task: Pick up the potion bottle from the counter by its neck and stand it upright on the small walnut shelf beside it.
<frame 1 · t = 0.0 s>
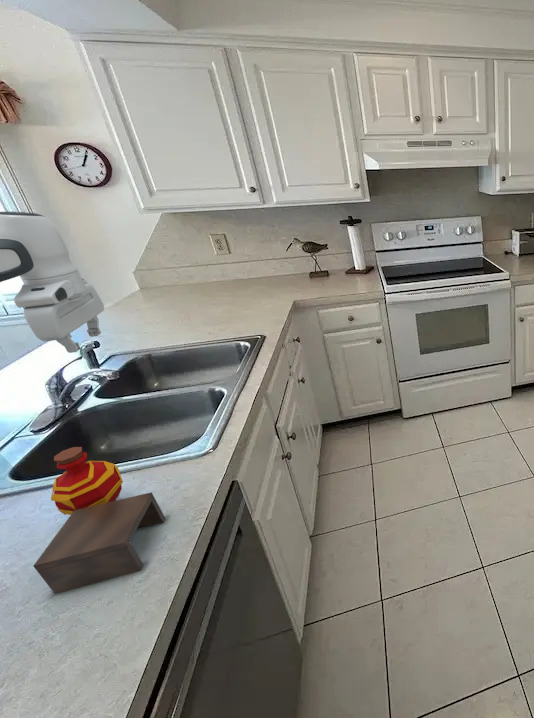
hand: (85, 343, 97), 26 cm above the worktop, tool pointing down, fingers open, 8 cm apart
potion bottle: (103, 511, 84), on the worktop
shelf: (115, 552, 75), on the worktop
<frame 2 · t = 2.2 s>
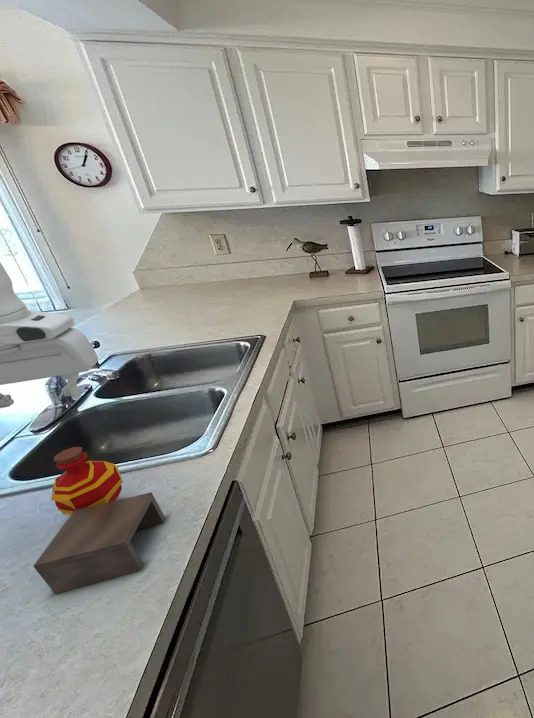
hand: (40, 400, 74), 26 cm above the worktop, tool pointing down, fingers open, 8 cm apart
nothing on the worktop moved.
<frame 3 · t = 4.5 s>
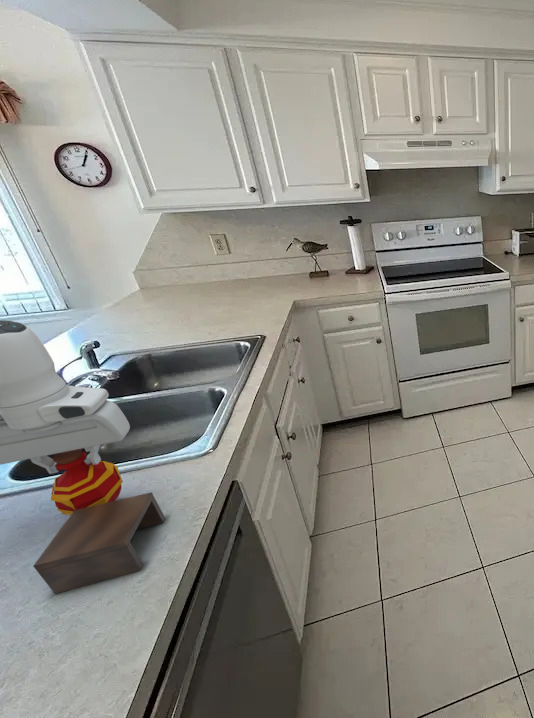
hand: (76, 467, 79), 12 cm above the worktop, tool pointing down, fingers closed on potion bottle, 4 cm apart
potion bottle: (103, 511, 84), on the worktop, touching gripper
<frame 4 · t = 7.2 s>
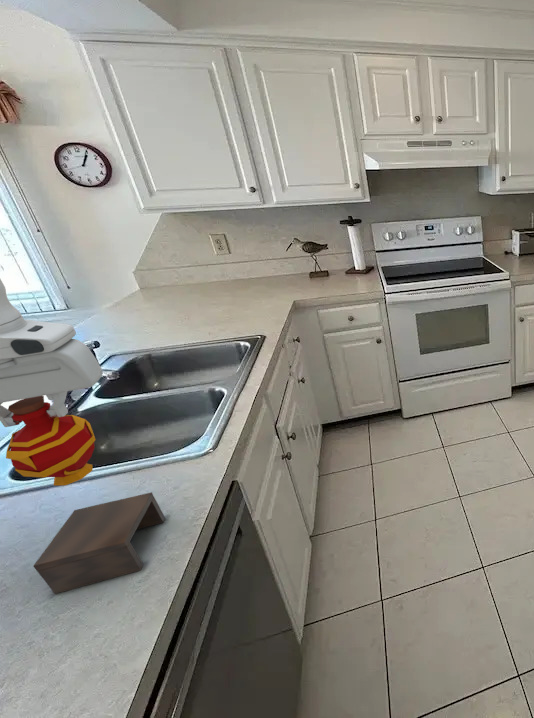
hand: (38, 419, 66), 28 cm above the worktop, tool pointing down, fingers closed on potion bottle, 4 cm apart
potion bottle: (73, 475, 71), point 16 cm above the worktop, touching gripper
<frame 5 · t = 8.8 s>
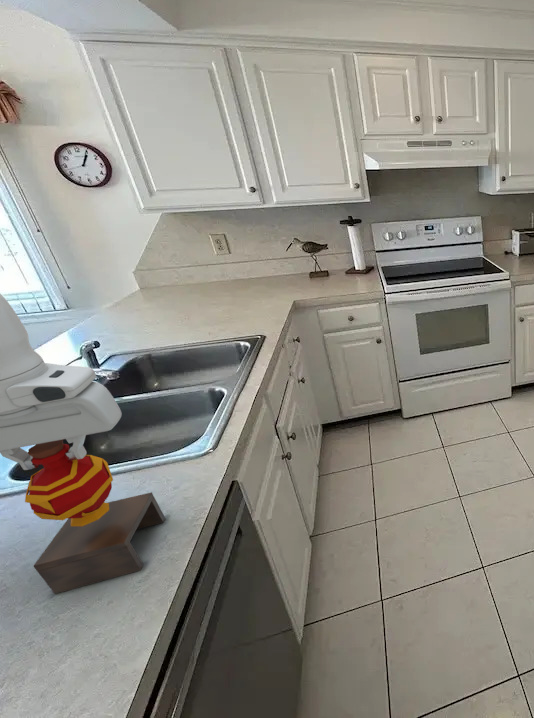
hand: (57, 461, 66), 21 cm above the worktop, tool pointing down, fingers closed on potion bottle, 4 cm apart
potion bottle: (90, 514, 71), point 10 cm above the worktop, touching gripper
when the fingers open (19 cm above the worktop, at t = 10.0 s): potion bottle stays where it is, resting on shelf.
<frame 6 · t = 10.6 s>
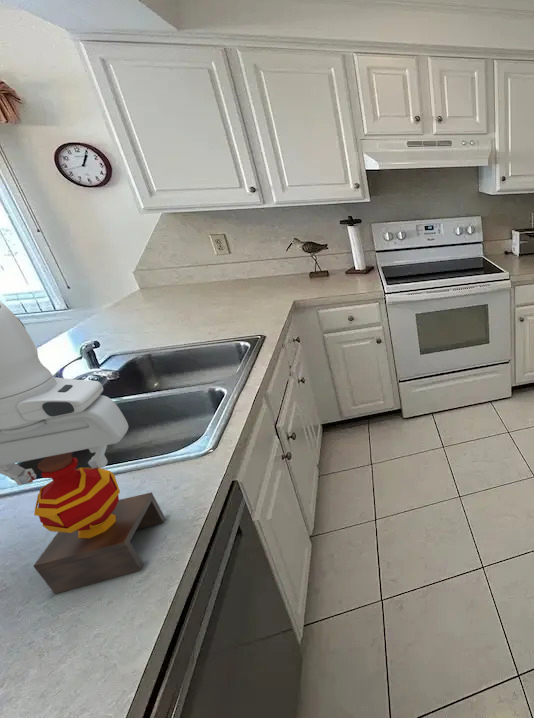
hand: (65, 473, 67), 19 cm above the worktop, tool pointing down, fingers open, 8 cm apart
potion bottle: (97, 526, 72), point 7 cm above the worktop, touching shelf
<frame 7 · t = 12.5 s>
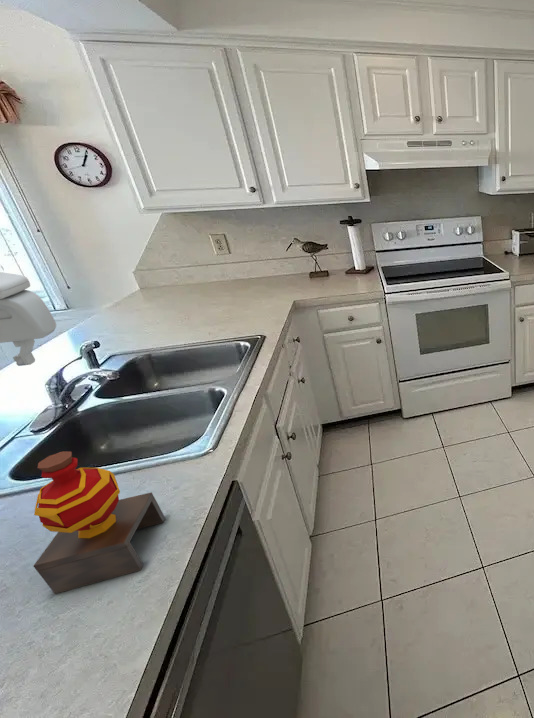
nothing on the worktop moved.
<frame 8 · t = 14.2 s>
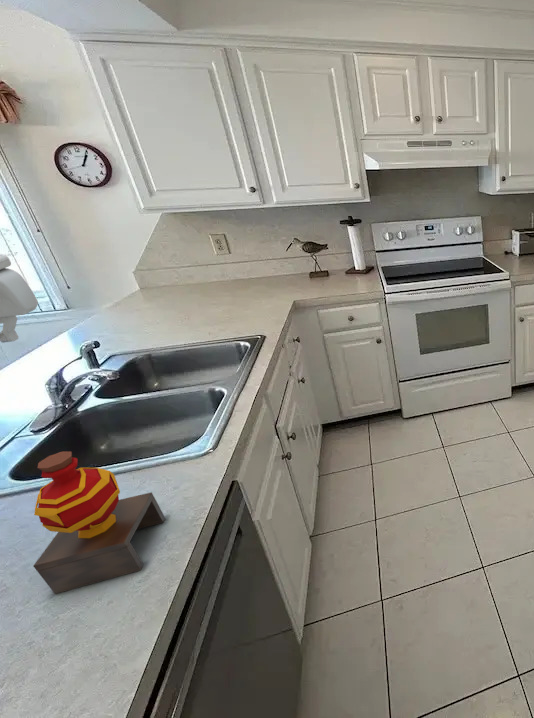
nothing on the worktop moved.
at the end: potion bottle 0.1 cm off-centre on the shelf, point 6.8 cm above the shelf's base; potion bottle tilted 0°; the gripper is holding nothing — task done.
